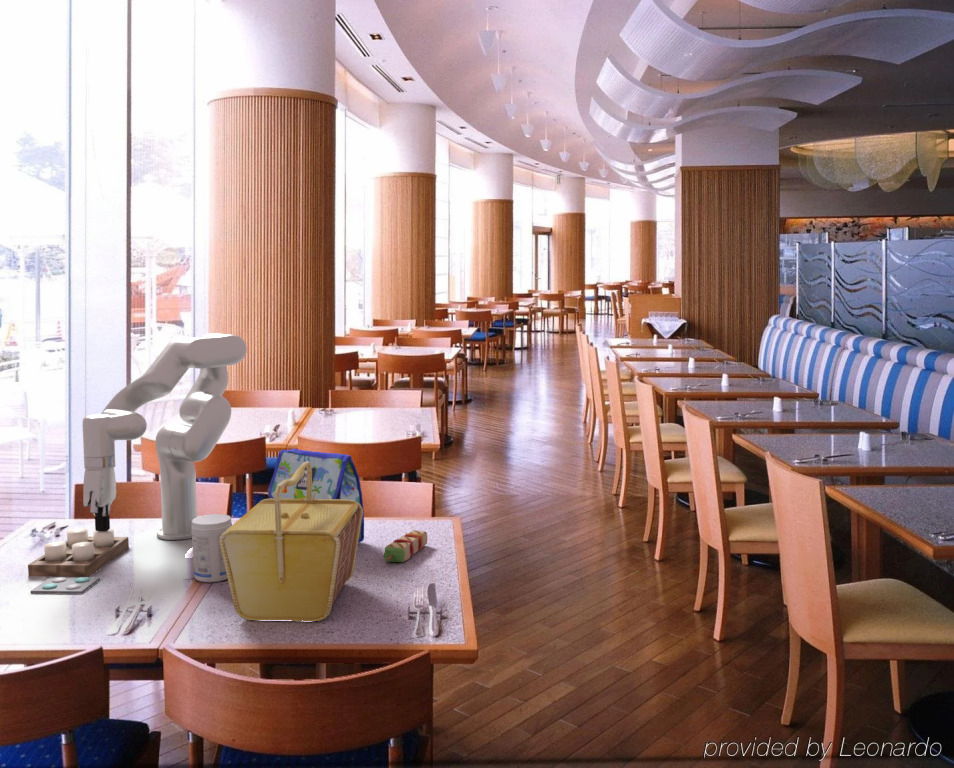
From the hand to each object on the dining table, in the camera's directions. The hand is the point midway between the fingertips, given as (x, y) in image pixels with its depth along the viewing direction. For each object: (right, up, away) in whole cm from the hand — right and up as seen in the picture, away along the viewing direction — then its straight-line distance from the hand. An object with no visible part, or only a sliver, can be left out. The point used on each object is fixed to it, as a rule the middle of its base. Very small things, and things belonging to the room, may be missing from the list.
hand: (102, 530), depth 240 cm
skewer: (+79, -7, 0) cm, 80 cm away
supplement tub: (+34, -9, -17) cm, 39 cm away
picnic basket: (+58, -11, -33) cm, 67 cm away
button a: (0, -4, +1) cm, 4 cm away
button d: (-7, -6, -11) cm, 14 cm away
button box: (-4, -7, -5) cm, 9 cm away
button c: (0, -6, -11) cm, 13 cm away
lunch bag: (+55, -6, +9) cm, 56 cm away
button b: (-7, -4, +1) cm, 8 cm away
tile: (+1, -10, -23) cm, 25 cm away
